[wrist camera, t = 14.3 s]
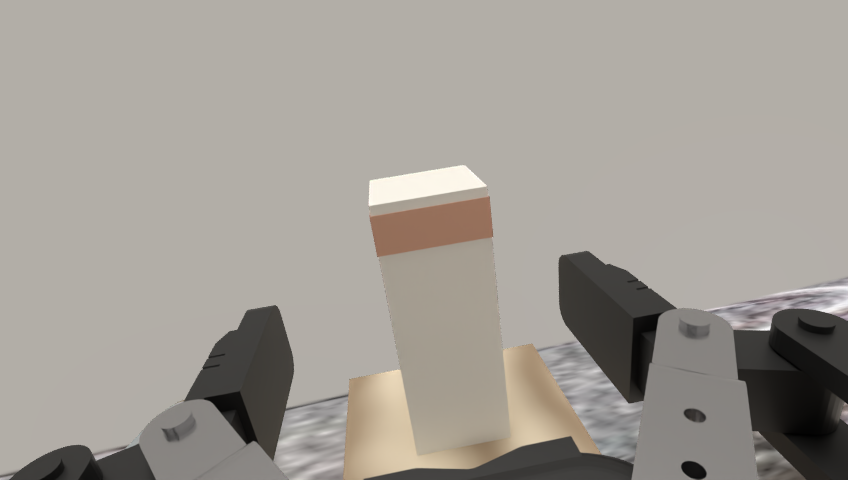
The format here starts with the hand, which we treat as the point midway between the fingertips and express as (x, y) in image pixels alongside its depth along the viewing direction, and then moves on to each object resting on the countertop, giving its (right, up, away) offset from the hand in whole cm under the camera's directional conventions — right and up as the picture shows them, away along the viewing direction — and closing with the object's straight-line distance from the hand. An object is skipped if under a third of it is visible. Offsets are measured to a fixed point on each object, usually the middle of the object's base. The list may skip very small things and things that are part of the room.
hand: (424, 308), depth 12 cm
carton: (+2, -9, +15) cm, 18 cm away
